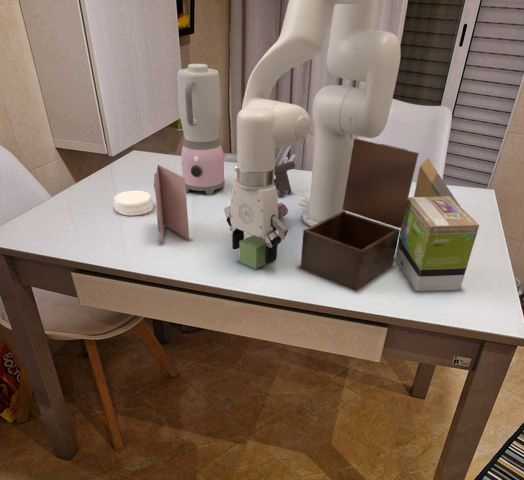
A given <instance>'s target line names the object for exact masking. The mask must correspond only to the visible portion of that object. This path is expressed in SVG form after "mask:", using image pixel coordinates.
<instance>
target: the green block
mask: <svg viewBox="0 0 524 480" xmlns="http://www.w3.org/2000/svg"><path fill="white" fill-rule="evenodd" d="M266 246H268V245H267V243H266V241H265V239H264V237H257V236H254V235H252V234H251V235H250V236H248V237H246V238H245V237H244V239H243V240H241V241H239V248H238V249H239V252H238V253H239V263H241V264H243V265H245V266H249V267H250V268H253V269H255V270H257V269H259V268H261V267H263V266H265V265H267V264H266V263H265V247H266Z"/></svg>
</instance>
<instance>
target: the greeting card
mask: <svg viewBox="0 0 524 480" xmlns="http://www.w3.org/2000/svg"><path fill="white" fill-rule="evenodd" d="M153 189H154V193H155V194H154V195H155V202H156V215H157V216H156V220H157V228H158V232H159V237H160V245H163V237H164V231H165V227H167V228H168V229H170V230H172V231H173V232H175V233H177V234H178V235H180V236H182V237H183V238H184V239H186V240H188V241H190V228H189V216H188V202H187V191H186V187H185V178H184V177H183V175H180V174H178V173H176V172H174V171H172V170H170V169H168V168H166V167H163V166H161V165H160V164H157V167H156V171H155V173H154V177H153Z"/></svg>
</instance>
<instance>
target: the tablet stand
mask: <svg viewBox="0 0 524 480" xmlns="http://www.w3.org/2000/svg"><path fill="white" fill-rule="evenodd" d="M295 167H296V164H295V162H294V161H292V160H291V161H287V162H285V163H281V164H278V165H275V172H274V185H275V186H276V188H277V189H278V192H279V196H280V197H281V198H284V197H285V192H287V195H291V194H292V187H291V184H290V180H289V175H288V171H291V170H294V169H295Z"/></svg>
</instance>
